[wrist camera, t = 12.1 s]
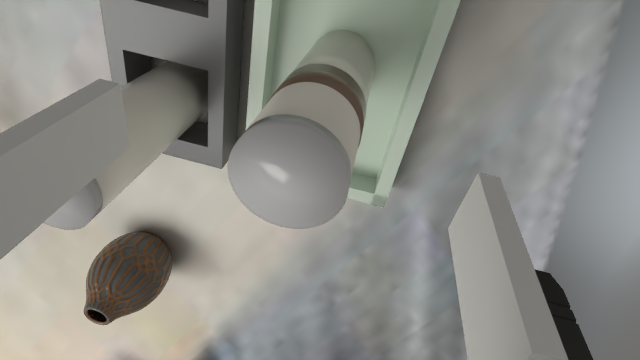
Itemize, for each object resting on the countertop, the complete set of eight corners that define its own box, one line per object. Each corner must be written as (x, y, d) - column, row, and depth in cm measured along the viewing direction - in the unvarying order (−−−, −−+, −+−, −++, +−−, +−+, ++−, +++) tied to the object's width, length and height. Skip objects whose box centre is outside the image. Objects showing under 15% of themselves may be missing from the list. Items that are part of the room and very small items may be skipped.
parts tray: (279, -127, 20) (264, -133, 18) (481, -82, 19) (491, -83, 17) (253, 154, 30) (242, 171, 28) (385, 187, 30) (383, 207, 28)
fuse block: (101, -166, 20) (60, -179, 18) (252, -133, 20) (231, -141, 18) (136, 123, 31) (113, 140, 28) (236, 149, 30) (221, 168, 28)
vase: (192, 268, 40) (147, 342, 33) (140, 270, 42) (86, 340, 35) (164, 219, 37) (107, 289, 30) (108, 223, 39) (42, 290, 32)
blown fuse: (314, 21, 23) (228, 108, 12) (384, 38, 23) (364, 142, 12) (303, 89, 26) (224, 212, 15) (366, 105, 26) (335, 242, 14)
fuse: (158, 50, 27) (-17, 139, 16) (216, 64, 27) (81, 165, 15) (162, 105, 29) (14, 216, 18) (215, 119, 29) (99, 239, 18)
